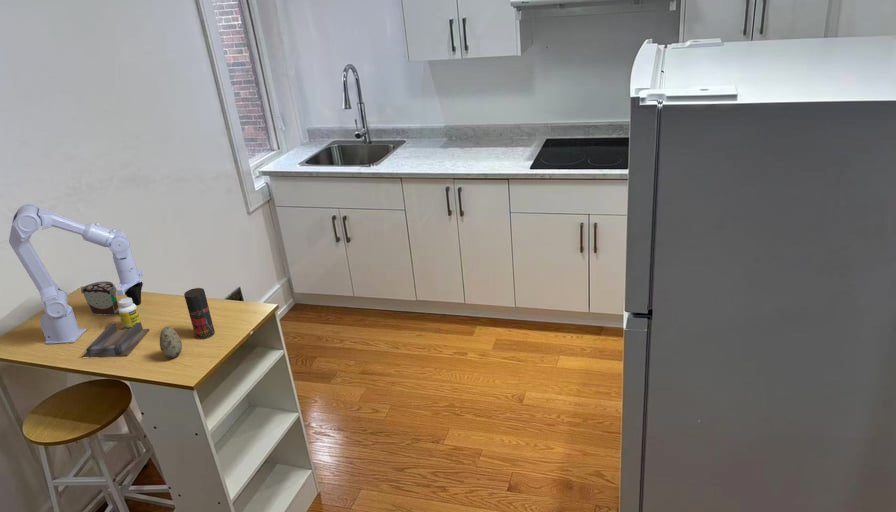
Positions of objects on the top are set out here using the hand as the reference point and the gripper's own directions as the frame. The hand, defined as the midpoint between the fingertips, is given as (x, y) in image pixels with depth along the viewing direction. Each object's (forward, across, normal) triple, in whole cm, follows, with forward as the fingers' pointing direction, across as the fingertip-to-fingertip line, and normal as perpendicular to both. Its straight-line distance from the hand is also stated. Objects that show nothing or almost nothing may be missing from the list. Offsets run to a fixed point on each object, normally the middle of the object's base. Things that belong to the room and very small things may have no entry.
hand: (137, 304), depth 220 cm
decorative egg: (+5, -25, -22) cm, 34 cm away
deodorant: (+5, -13, -27) cm, 30 cm away
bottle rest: (+5, -16, 0) cm, 17 cm away
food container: (+5, +6, +14) cm, 16 cm away
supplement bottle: (+5, -6, 0) cm, 8 cm away
